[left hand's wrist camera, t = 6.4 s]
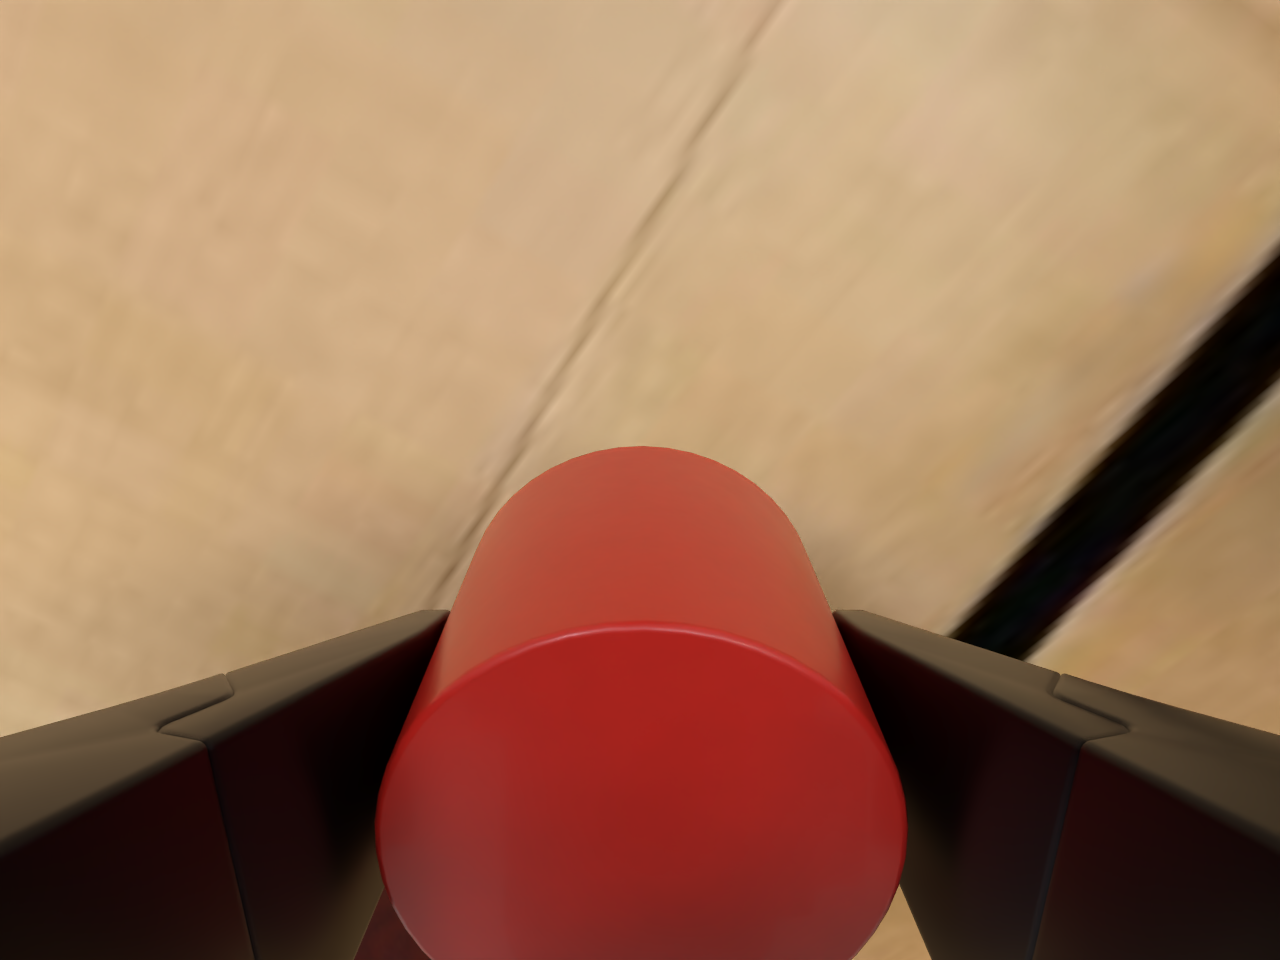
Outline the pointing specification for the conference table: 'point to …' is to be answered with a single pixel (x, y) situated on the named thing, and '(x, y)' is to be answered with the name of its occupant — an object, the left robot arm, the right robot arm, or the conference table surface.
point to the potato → (388, 936)
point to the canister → (641, 736)
